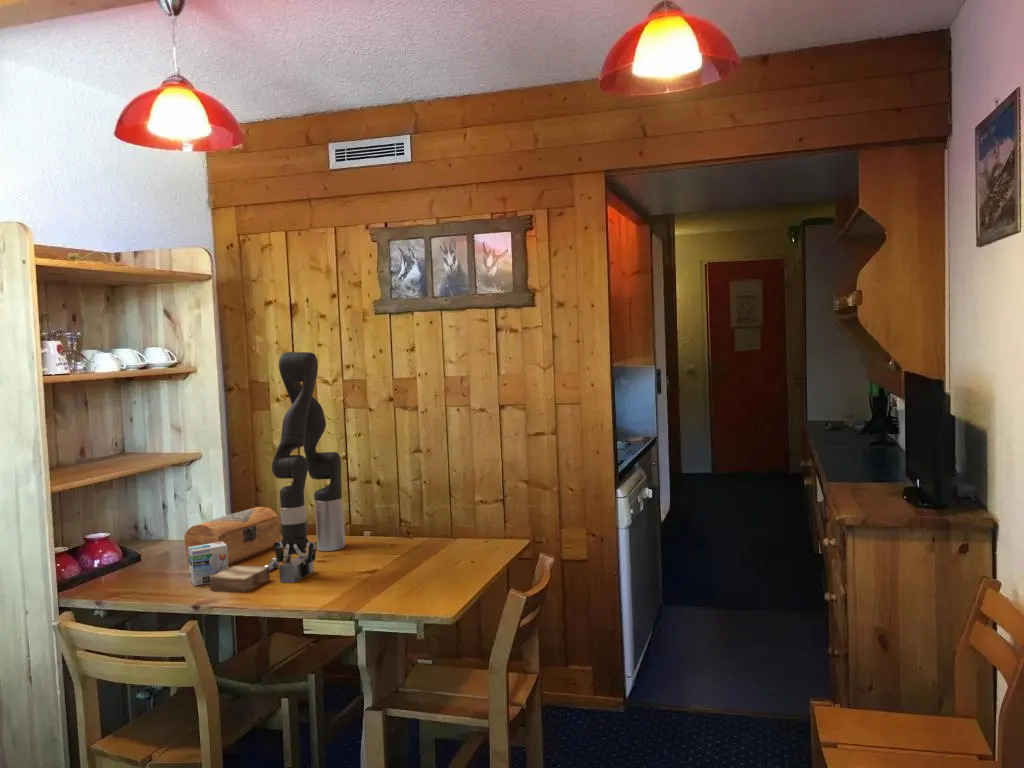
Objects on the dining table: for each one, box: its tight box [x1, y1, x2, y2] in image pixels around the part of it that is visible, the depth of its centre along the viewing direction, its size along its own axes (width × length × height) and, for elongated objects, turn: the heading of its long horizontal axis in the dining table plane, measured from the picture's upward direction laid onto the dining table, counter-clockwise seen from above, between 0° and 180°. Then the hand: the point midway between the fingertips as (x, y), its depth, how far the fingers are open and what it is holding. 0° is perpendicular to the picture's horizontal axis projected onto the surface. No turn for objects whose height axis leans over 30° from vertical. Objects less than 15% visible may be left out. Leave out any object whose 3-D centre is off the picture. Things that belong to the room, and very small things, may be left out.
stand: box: [209, 565, 271, 593], centre depth 242 cm, size 12×12×4 cm
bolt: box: [263, 557, 281, 572], centre depth 256 cm, size 6×3×3 cm, turn 163°
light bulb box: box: [188, 541, 230, 587], centre depth 248 cm, size 11×7×11 cm, turn 122°
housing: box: [278, 556, 314, 584], centre depth 247 cm, size 11×5×5 cm, turn 164°
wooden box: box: [183, 506, 281, 566], centre depth 279 cm, size 30×16×14 cm, turn 156°
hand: (297, 575), depth 247 cm, fingers open, 5 cm apart
